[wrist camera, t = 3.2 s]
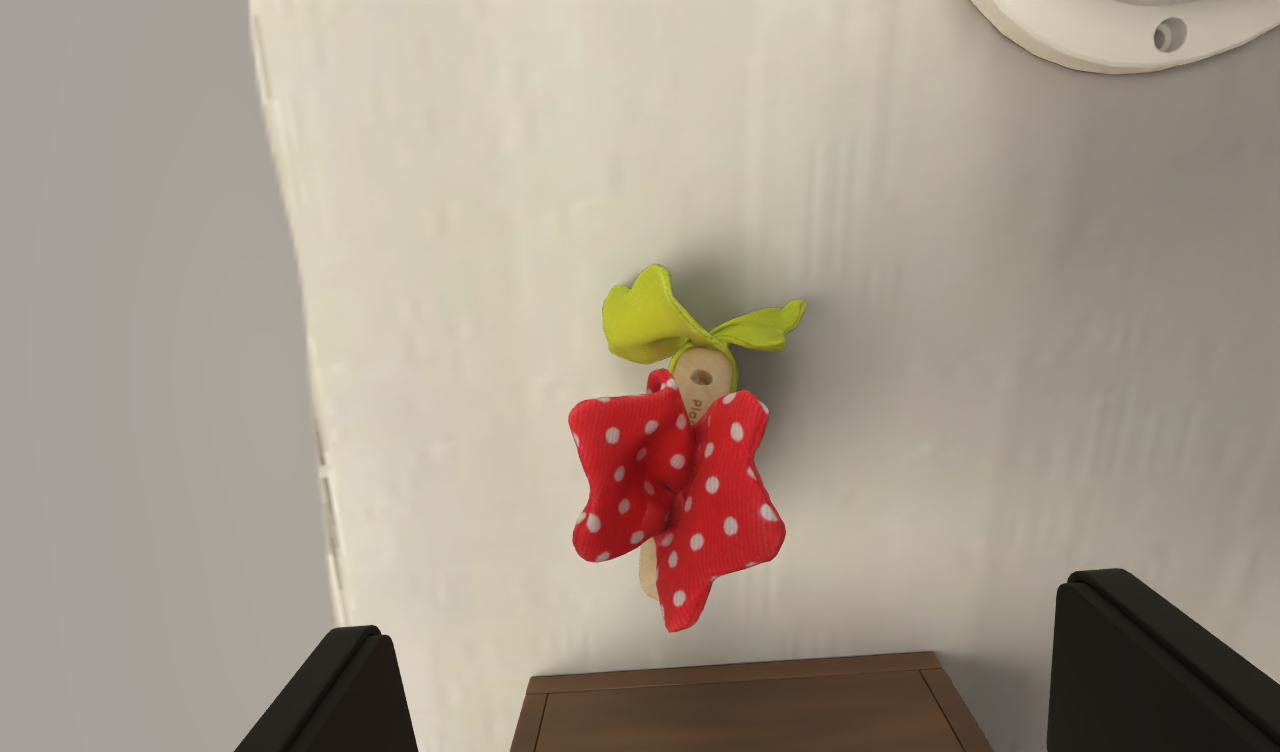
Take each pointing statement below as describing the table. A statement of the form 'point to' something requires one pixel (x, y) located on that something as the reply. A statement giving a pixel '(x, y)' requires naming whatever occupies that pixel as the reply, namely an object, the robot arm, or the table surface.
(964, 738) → the chest
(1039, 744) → the table surface
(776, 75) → the table surface
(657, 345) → the bird rattle
